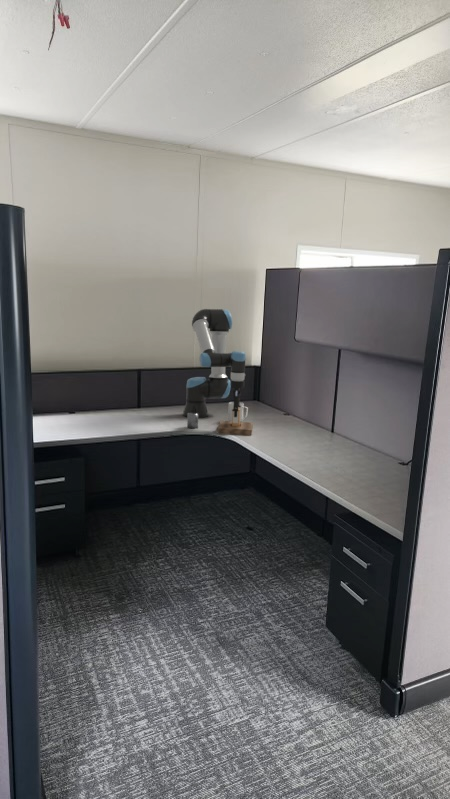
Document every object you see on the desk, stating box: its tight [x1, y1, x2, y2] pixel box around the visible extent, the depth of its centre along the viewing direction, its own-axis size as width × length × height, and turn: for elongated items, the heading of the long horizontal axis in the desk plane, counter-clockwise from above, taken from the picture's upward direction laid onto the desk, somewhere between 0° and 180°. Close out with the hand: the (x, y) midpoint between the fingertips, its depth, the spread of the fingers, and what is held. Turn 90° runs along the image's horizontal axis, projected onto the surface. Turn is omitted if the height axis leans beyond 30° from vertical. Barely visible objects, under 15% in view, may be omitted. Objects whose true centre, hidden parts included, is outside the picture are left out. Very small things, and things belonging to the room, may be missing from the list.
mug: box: [227, 401, 249, 422], centre depth 317 cm, size 12×9×11 cm
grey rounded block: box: [186, 413, 199, 430], centre depth 300 cm, size 6×6×8 cm
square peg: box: [232, 409, 240, 427], centre depth 297 cm, size 4×4×12 cm
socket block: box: [217, 420, 254, 436], centre depth 297 cm, size 18×18×3 cm
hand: (235, 420), depth 297 cm, fingers open, 9 cm apart
